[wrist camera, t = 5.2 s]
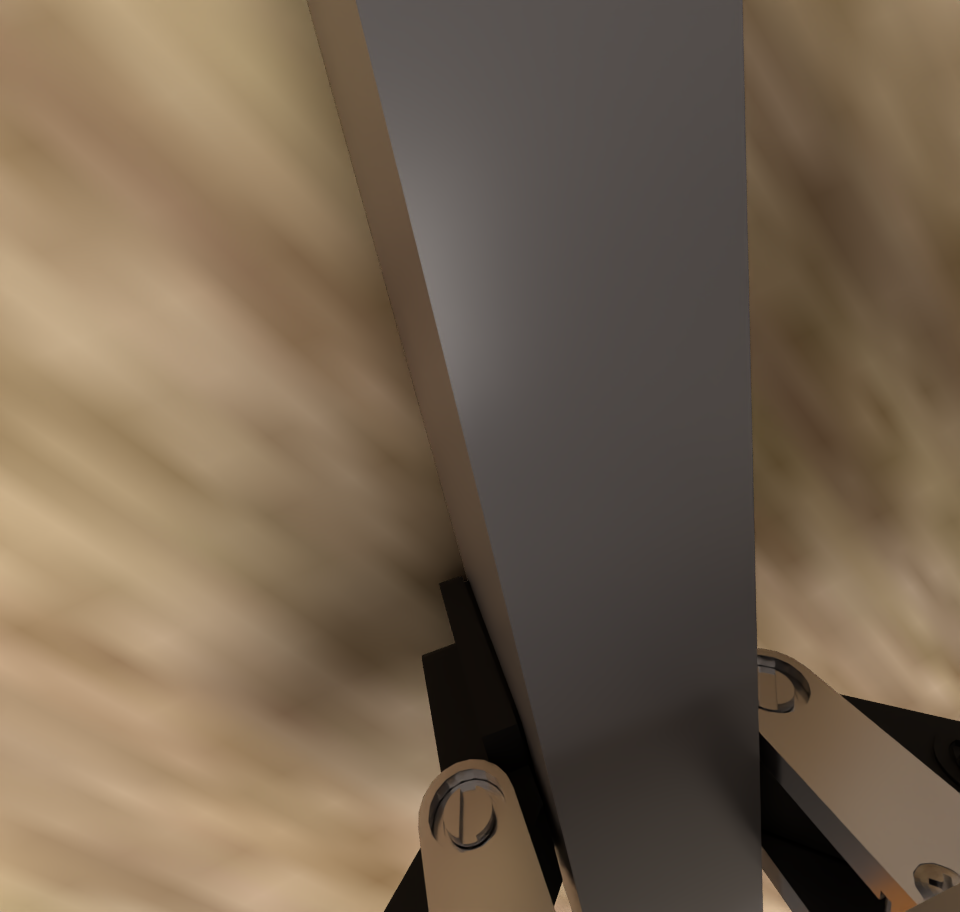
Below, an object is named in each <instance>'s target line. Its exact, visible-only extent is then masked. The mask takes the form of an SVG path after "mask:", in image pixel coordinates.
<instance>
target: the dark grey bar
mask: <svg viewBox="0 0 960 912" xmlns="http://www.w3.org/2000/svg"><path fill="white" fill-rule="evenodd" d="M307 3H308V7H309V11H310V14H311V18H312V21H313V25H314V29H315V32H316V36H317V40H318V43H319V47H320V50H321V54H322V58H323V61H324V65H325V68H326V72H327V76H328V79H329V83H330V86H331V90H332V94H333V97H334V101H335V104H336V108H337V112H338V115H339V119H340V122H341V126H342V130H343V133H344V137H345V141H346V144H347V148H348V151H349V155H350V159H351V162H352V166H353V169H354V173H355V177H356V180H357V184H358V187H359V191H360V195H361V198H362V202H363V205H364V209H365V213H366V216H367V220H368V223H369V227H370V231H371V234H372V238H373V242H374V245H375V249H376V252H377V256H378V260H379V263H380V267H381V270H382V274H383V278H384V281H385V285H386V288H387V292H388V296H389V299H390V303H391V306H392V310H393V314H394V317H395V321H396V324H397V328H398V332H399V335H400V339H401V343H402V346H403V350H404V353H405V357H406V361H407V364H408V368H409V371H410V375H411V379H412V382H413V386H414V389H415V393H416V397H417V400H418V404H419V407H420V411H421V415H422V418H423V422H424V425H425V429H426V433H427V436H428V440H429V444H430V447H431V451H432V454H433V458H434V462H435V465H436V469H437V472H438V476H439V480H440V483H441V487H442V490H443V494H444V498H445V501H446V505H447V508H448V512H449V516H450V519H451V523H452V526H453V530H454V534H455V537H456V541H457V544H458V548H459V552H460V555H461V559H462V563H463V566H464V570H465V573H466V577H467V581H469V582H470V585H471V588H472V590H473V593H474V596H475V598H476V601H477V604H478V606H479V609H480V612H481V614H482V617H483V620H484V622H485V625H486V628H487V630H488V633H489V636H490V638H491V641H492V644H493V646H494V649H495V652H496V654H497V657H498V660H499V662H500V665H501V668H502V670H503V673H504V675H505V678H506V681H507V683H508V686H509V689H510V691H511V694H512V697H513V699H514V702H515V705H516V708H517V710H518V713H519V716H520V719H521V723H522V726H523V729H524V733H525V736H526V740H527V744H528V748H529V751H530V755H531V759H532V763H533V767H534V770H535V774H536V778H537V782H538V786H539V790H540V793H541V797H542V801H543V805H544V809H545V812H546V816H547V820H548V824H549V828H550V832H551V835H552V839H553V843H554V848H555V852H556V856H557V860H558V863H559V867H560V871H561V875H562V879H563V881H562V882H563V885H564V888H565V891H566V894H567V897H568V900H569V903H570V906H571V909H572V912H763V894H762V849H761V805H760V760H759V715H758V671H757V626H756V582H755V537H754V492H753V448H752V403H751V358H750V314H749V269H748V225H747V180H746V135H745V91H744V46H743V2H742V0H307Z"/></svg>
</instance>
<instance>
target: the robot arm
mask: <svg viewBox="0 0 960 912" xmlns="http://www.w3.org/2000/svg"><path fill="white" fill-rule="evenodd" d="M439 586H440V589H441V593H442V597H443V600H444V604H445V607H446V611H447V614H448V618H449V622H450V625H451V629H452V632H453V636H454V640H455V644H452V645H449V646H447V647H444V648H441V649H438V650H436V651H433V652H430V653H427V654H425V655H422V662H423V668H424V674H425V680H426V686H427V692H428V698H429V704H430V710H431V715H432V721H433V727H434V733H435V739H436V745H437V751H438V757H439V763H440V769H441V773H440V774H439V775H438V776H437V777H436V778H435V779H434V780H433V781H432V783H431V785H430V786H429V788H428V790H427V791H426V793H425V795H424V796H423V800H422V803H421V806H420V810H419V823H418V830H419V838H420V846H421V848H420V850H419V851H418V853H417V855H416V857H415V858H414V860H413V862H412V864H411V865H410V867H409V869H408V871H407V872H406V874H405V876H404V878H403V879H402V881H401V883H400V884H399V886H398V888H397V890H396V891H395V893H394V895H393V897H392V898H391V900H390V902H389V904H388V905H387V907H386V909H385V911H384V912H555V909H554V905H555V902H556V899H557V896H558V893H559V890H560V887H561V884H562V881H563V879H562V875H561V871H560V867H559V863H558V860H557V856H556V852H555V848H554V843H553V839H552V835H551V832H550V828H549V824H548V820H547V816H546V812H545V809H544V805H543V801H542V797H541V793H540V790H539V786H538V782H537V778H536V774H535V770H534V767H533V763H532V759H531V755H530V751H529V748H528V744H527V740H526V736H525V733H524V729H523V726H522V723H521V719H520V716H519V713H518V710H517V708H516V705H515V702H514V699H513V697H512V694H511V691H510V689H509V686H508V683H507V681H506V678H505V675H504V673H503V670H502V668H501V665H500V662H499V660H498V657H497V654H496V652H495V649H494V646H493V644H492V641H491V638H490V636H489V633H488V630H487V628H486V625H485V622H484V620H483V617H482V614H481V612H480V609H479V606H478V604H477V601H476V598H475V596H474V593H473V590H472V588H471V585H470V582H469V581H466V582H464V580H463V577H462V576H460V577H457V578H454V579H451V580H448V581H445V582H443V583H440V584H439ZM757 671H758V715H759V760H760V805H761V849H762V869H763V870H764V872H765V873H766V875H767V876H768V878H769V879H770V880H771V882H772V883H773V885H774V886H775V888H776V889H777V890H778V892H779V893H780V895H781V896H782V898H783V899H784V900H785V902H786V903H787V905H788V906H789V908H790V909H791V911H792V912H960V721H955V720H951V719H947V718H942V717H938V716H933V715H929V714H924V713H920V712H916V711H911V710H907V709H902V708H898V707H894V706H889V705H885V704H880V703H876V702H872V701H867V700H863V699H858V698H854V697H849V696H845V695H841V694H839V693H837V692H836V691H835V690H834V689H832V688H831V687H830V686H829V685H828V684H826V683H825V682H824V681H823V680H822V679H820V678H819V677H818V676H817V675H815V674H814V673H813V672H812V671H811V670H809V669H808V668H807V667H806V666H804V665H803V664H801V663H800V662H798V661H797V660H795V659H794V658H792V657H789V656H787V655H784V654H782V653H779V652H777V651H772V650H767V649H762V648H757Z"/></svg>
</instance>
